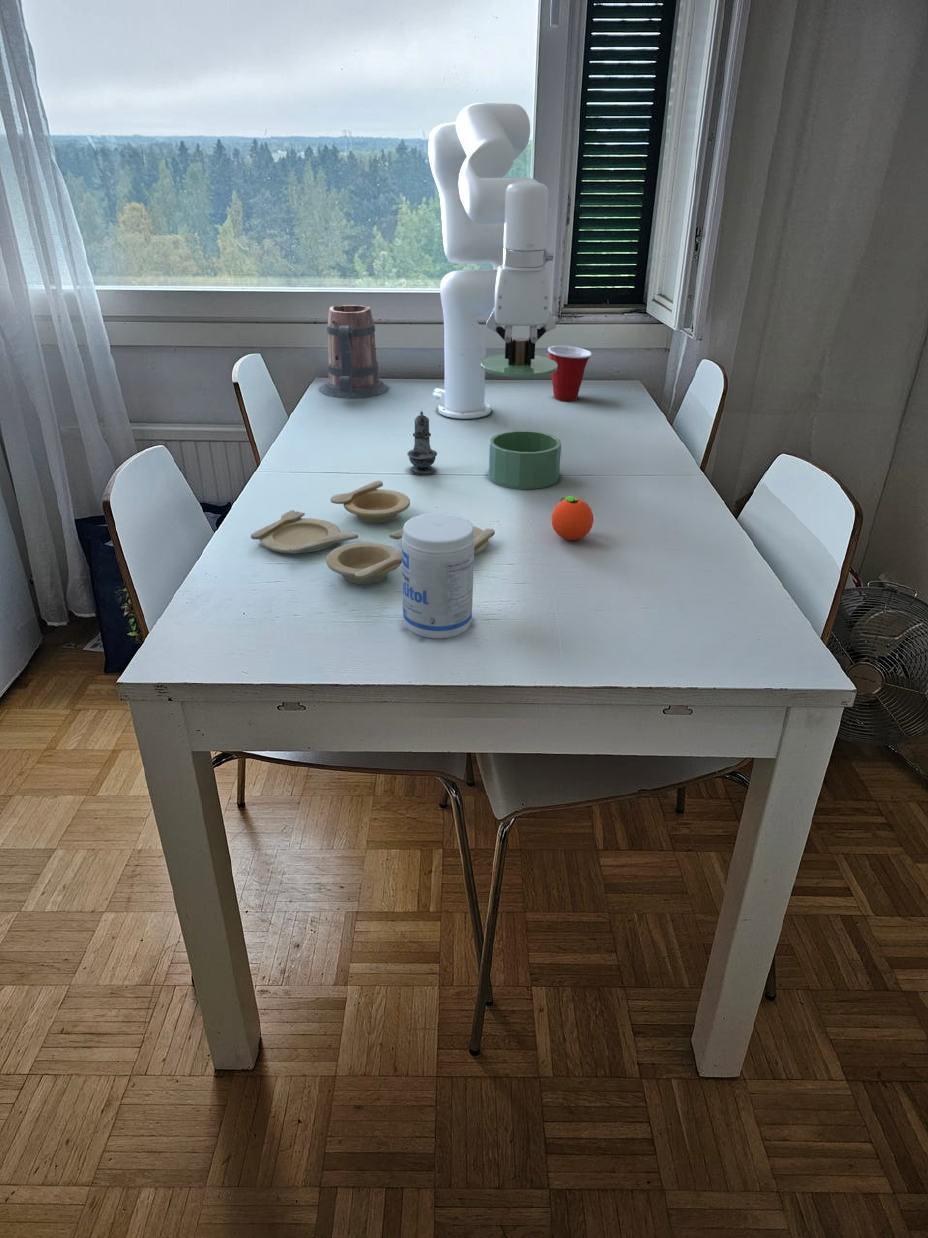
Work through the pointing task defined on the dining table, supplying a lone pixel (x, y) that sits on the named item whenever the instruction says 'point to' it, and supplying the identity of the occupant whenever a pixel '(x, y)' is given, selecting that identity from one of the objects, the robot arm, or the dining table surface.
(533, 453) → the bowl
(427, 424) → the salt shaker
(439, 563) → the supplement tub
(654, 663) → the dining table surface
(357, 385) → the tankard
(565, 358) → the plastic cup
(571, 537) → the clementine
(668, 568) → the dining table surface
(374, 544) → the tableware set
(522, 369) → the lid
